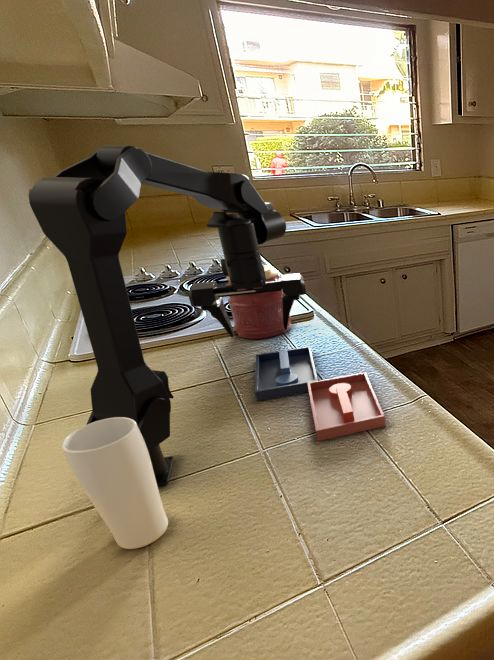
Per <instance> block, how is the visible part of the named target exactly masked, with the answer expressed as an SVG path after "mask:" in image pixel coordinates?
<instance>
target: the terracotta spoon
mask: <svg viewBox="0 0 494 660" xmlns="http://www.w3.org/2000/svg"><path fill="white" fill-rule="evenodd" d="M351 393H352V390H351V386H350V385H349V384H347V383H338V384H335V385H332V386H331V387H330V388H329V395H330V397H331V398H333V399H338V402H339V406H340V409H341V413H342V416H343V420H344V423H348V422H352V421H354V414H353V410H352V406H351V403H350V400H349V397H348V396H350V395H351Z"/></svg>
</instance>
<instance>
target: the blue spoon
mask: <svg viewBox="0 0 494 660" xmlns="http://www.w3.org/2000/svg"><path fill="white" fill-rule="evenodd" d="M287 350H288V349H282V350H278V351H279V357H280V368H281V373H282V375H280V376H278V377H277V378H276V380H275V381H276V385H277V387H279V386H285V385H290V384H296V383H298V376H297V375H296V374H292V373H291V371H290V363H289V357H288V352H287Z"/></svg>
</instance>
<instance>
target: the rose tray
mask: <svg viewBox="0 0 494 660" xmlns="http://www.w3.org/2000/svg"><path fill="white" fill-rule="evenodd" d="M338 383H347V384H349V385H350V386H351V390H352V393H351V395H350V396H348V397H349V400H350V403H351V406H352V410H353V414H354V421H352V422H348V423H344V420H343V416H342V413H341V409H340V406H339V402H338V399H333V398H331V397H330V395H329V388H330V387H331V386H332V385H335V384H338ZM307 385H308V391H309V392H308V396H309V401H310V409H311V413H312V418H313V423H314V429H315V434H316V440H317V442H320V441H324V440H329V439H334V438H339V437H343V436H348V435H351V434H357V433H360V432H361V433H362V432H365V431H370V430H374V429H379V428H383V427H386V426H387V422H386V415H385V413H384V411H383V408H382V406H381V404H380V402H379V399H378V397H377V394H376V392H375V390H374V387H373V385H372V383H371V381H370V379H369V376H368V374H367V372H366V371H364V372H359V373H353V374H347V375H341V376H336V377H331V378H326V379H320V380H319V379H318V381H314V382H308V383H307Z"/></svg>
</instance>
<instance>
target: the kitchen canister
mask: <svg viewBox="0 0 494 660" xmlns="http://www.w3.org/2000/svg"><path fill="white" fill-rule="evenodd" d="M263 266H264V270H265V275H266V282H269V281H279V280H281V277H280V276H278V275H279V270H277V269H276V268H273V267H271V266H270V265H267V264H263ZM225 279H226V280H227V281H228V282H227V283H225V285H224V286H229V285H231V283H230V279H229V277H225ZM259 288H262V287H259ZM254 289H257V288H254ZM240 290H246V289H240ZM237 291H238V290H237ZM227 303H228V304H229V307H230V312H231V316H232V321H233V327H234V330H235V331H236V334H237V335H238V337H241V338H243V339H249V340H250V339H251V340H259V339H260V340H261V339H267V338H272V337H277V336H279V335H282V334H285V333H286V332H287V331H289V330H290V329H291V327H292V316H291V315H290V314H289V320H288V325H287V330H284V325H283V311H282V291H274V292H265V293H256V294H246V295H237V296H228V299H227Z"/></svg>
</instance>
